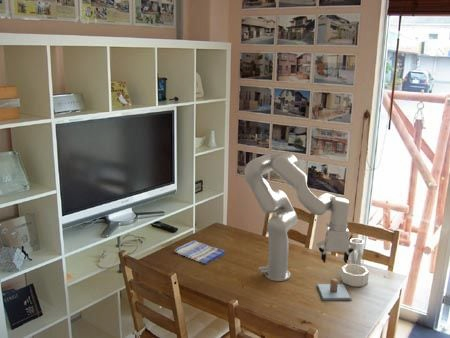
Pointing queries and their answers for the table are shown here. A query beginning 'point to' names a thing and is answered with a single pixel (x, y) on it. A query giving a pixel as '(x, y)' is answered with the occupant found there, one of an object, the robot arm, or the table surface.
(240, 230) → the table surface
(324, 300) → the mat
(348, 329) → the table surface
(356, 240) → the beer glass
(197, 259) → the dish towel
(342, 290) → the cover
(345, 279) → the bowl
